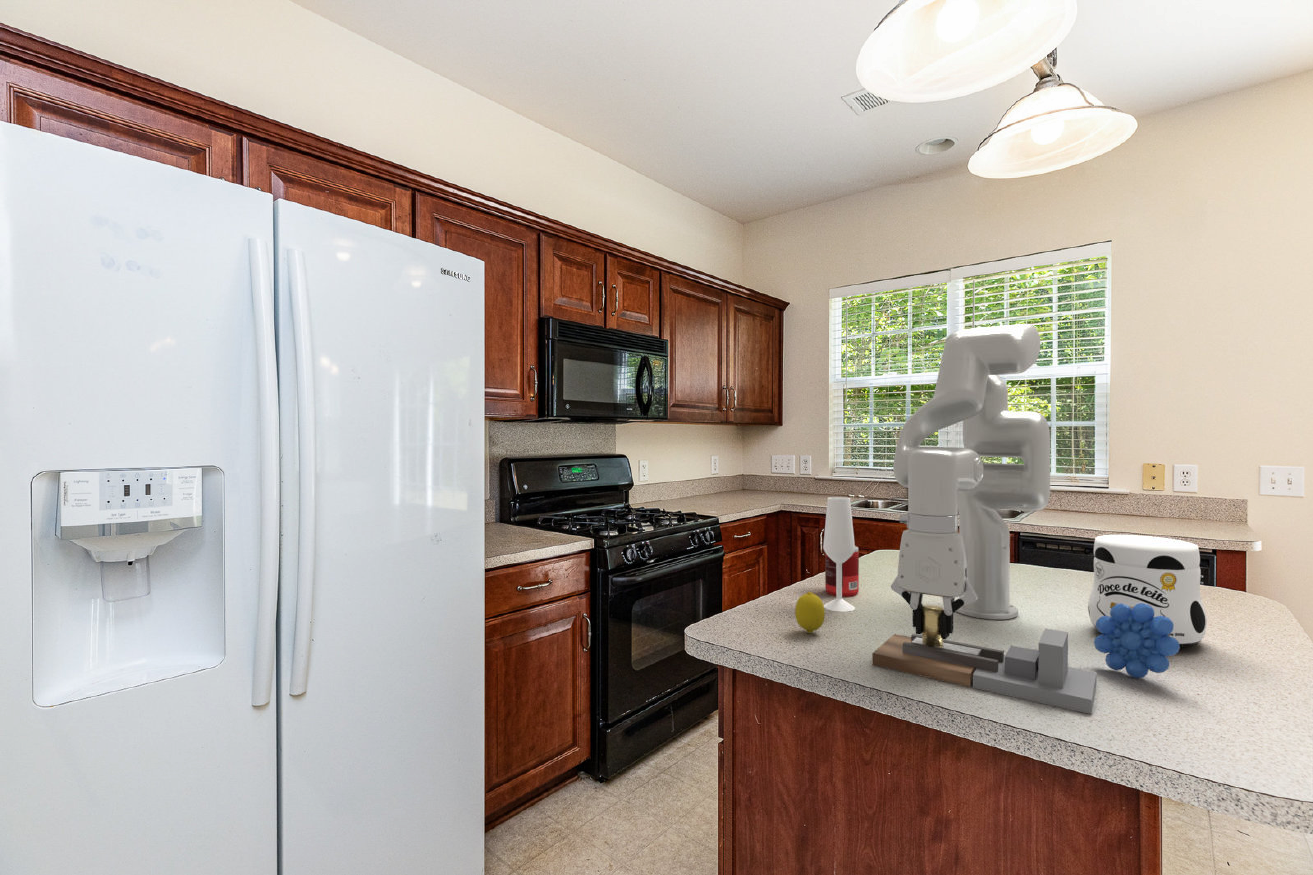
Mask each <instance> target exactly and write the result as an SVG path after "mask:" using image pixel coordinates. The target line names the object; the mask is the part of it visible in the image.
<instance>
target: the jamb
mask: <svg viewBox="0 0 1313 875" xmlns="http://www.w3.org/2000/svg"><path fill="white" fill-rule="evenodd" d="M1068 656H1069V632H1068V631H1062V630H1056V629H1051V628H1050V629H1049V628H1044V629H1043V632H1042V634H1041V636H1040V639H1039V641H1038V649H1034V648H1029V647H1028V648H1027V647H1023V646H1018V645H1017V646H1016V645H1010V647H1009V648H1008V650H1007V652H1006V654H1004V662H1003V663H1002V662H998V672H992V671H987V670H982V669H978V668H977V669H976V671H975V672H974V674H973V683H972V688H974V689H978V690H981V691H982V690H983V691H985V692H986V691H987V692H990V693H994V694H995V693H996V694H1000V695H1005V696H1009V697H1014V698H1018V699H1022V700H1027V701H1031V702H1036V703H1039V704H1043V705H1044V704H1045V705H1049V706H1053V707H1057V708H1062V709H1067V710H1071V711H1076V712H1080V713H1085V714H1088V715H1089V714H1090V715H1093V711H1094V710H1093V708H1094V702H1095V695H1096V691H1097V672H1096V671H1093V670H1092V671H1091V670H1087V669H1081V668H1076V667H1071V666H1068V665H1069V663H1068V662H1069V657H1068Z"/></svg>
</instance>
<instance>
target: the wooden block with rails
mask: <svg viewBox="0 0 1313 875" xmlns="http://www.w3.org/2000/svg"><path fill="white" fill-rule="evenodd" d="M916 637H918V638H922V635H921V634H916V633H912V634H911V635H910V636H907V635H902V634H897V633H894V634H893V635H892V636H890V637H889V638H888V639H886V640H885V641H884V643H882V644H881V645H880V646H879V647H878V648H876V650H873V652H872V653H871V654H872V658H871V659H872V660H871V661H872V666H874V667H875V666H876V667H880V668H884V669H888V670H893V671H897V672H902V673H905V674H906V673H907V674H911V675H915V676H920V677H925V678H928V679H934V680H937V681H942V682H946V683H949V684H950V683H951V684H955V685H959V686H964V687H968V688H970V687H971V686H973V674H974V672H975V671H976V669H977V668H978V669H982V670H987V671H992V672H998V662H1002V663H1003V662H1004V655H1005V651H1004V650H1001V649H996V648H991V647H985V646H980V645H979V646H978V645H975V644H970V643H969V644H968V643H964V642H959V641H955V640H954V641H952V640H949V639H943V642H944V643H949V644H955V645H960V646H965V647H970V648H976V649H981V657H980V656H975V655H969V654H964V653H959V652H954V651H949V650H944V649H939V648H934V647H929V646H924V645H918V644H913V643H911V642H912V641H913V640H914V639H915V638H916Z"/></svg>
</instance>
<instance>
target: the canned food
mask: <svg viewBox="0 0 1313 875" xmlns="http://www.w3.org/2000/svg"><path fill="white" fill-rule="evenodd" d="M859 553H860V552H859V547H858V546H856V545H855V551H854V553H853V554H852V556H851V557H850V558H849V559H848V560H846V561H845V562H844V563H842V598H850V597H855V596H857V595H858V594H859V590H860V587H859V586H860V585H859V581H860V580H859V579H860V574H859V572H860V571H859V566H860V565H859V559H860V557H859V556H860V554H859ZM824 563H825V564H824V570H825V571H824V576H825V578H824V580H825V582H824V583H825V585H824V586H825V587H824V588H825V592H826V593H827V594H828V595H831V596H833V597H836V563H835V562H834V561H832V560H831V558H830V557H829V556H828V555H827V554H826V553H825V552H824Z"/></svg>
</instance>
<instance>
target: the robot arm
mask: <svg viewBox="0 0 1313 875" xmlns="http://www.w3.org/2000/svg"><path fill="white" fill-rule="evenodd" d="M1040 351H1041V337H1040V334H1039V332H1038V330H1037V328H1036V327H1035V326H1034V325H1032V324H1030V323H1021V324H1020V323H1019V324H1011V325H1009V324H1007V325H999V326H987V327H976V328H974V327H972V328H968V329H967V328H966V329H962V330H961V329H960V330H958V331H954V332H952V333H950V334H949V335H948V336H947V337H946V338H945V340H944V347H943V350H942V354H941V359H940V365H939V369H938V374H937V377H936V378H937V380H936V385H935V389H934V393H933V397H932V398H931V399H930V400H928V401H926V402H925V403H924V404H923V405H922V406H920V407H919V408H918V409H917V410H916V411H915V412H914V413H913V414H912V415H911V416H910V417H909V418H908V419H907V420H906V421H905V423H904V424H903V426H902V428H901V430H900V432H899V434H898V435H899V436H898V439H897V444H896V449H895V451H894V458H893V468H892V469H893V470H892V471H893V475H894V479H895V480H896V482H897V483H898V484H899V485H900V486H901V487H904V488H907V490H908V492H907V494H908V496H907V497H908V499H907V500H908V501H907V502H908V503H907V504H908V505H907V506H908V507H907V508H908V509H907V512H906V514H900V516H899V523H900V524H901V523H902V524H905V525H906V528H907V529H905V530H903V531H902V534H901V540H900V545H899V552H898V553H899V554H898V565H897V576H896V577H895V579H894V580H893V582H892V583H891V585H890V589H891V590H892V591H894V592H895V593H897V595H899V596H901V597H902V598H903V599H904V601H906V603H907V604H908V605H909V607H910V609H911V610H912V627H913V628H915V634H917V635H921V634H922V606H924V605H923V597H924V595H927V596H933V597H941V599H942V604H943V614H942V615H941V638H942V639H943V640H948V638H949V637H950V635H951V634H953V633H954V613H955V612H957V613H959V614H962V615H964V616H969V617H973V618H978V619H986V620H1009V619H1010V620H1011V619H1014V618H1017V617H1018V616H1019V609H1018V608H1017V607H1016V606H1014V605H1012V604H1011V603H1010V601H1011V600H1010V598H1011V597H1010V589H1011V588H1010V586H1011V585H1010V583H1011V582H1010V577H1011V575H1010V566H1011V565H1010V562H1011V560H1010V558H1011V557H1010V552H1011V551H1010V548H1011V547H1010V546H1011V545H1010V540H1011V538H1010V537H1011V536H1010V529H1009V527H1008V524H1007V522H1005V520H1004V519H1003V518H1002V516H1001V515H1000V514H999V513H998V512H997V510H1007V511H1022V512H1023V511H1025V512H1038V511H1041V510H1042V511H1043V510H1044V509H1045V508H1046V507H1047V506H1048V504H1049V502H1050V497H1051V496H1050V495H1051V435H1050V434H1051V433H1050V427H1049V423H1048V421H1047V418H1046V417H1045V415H1043V414H1042V413H1040V412H1038V411H1037V412H1036V411H1031V410H1030V411H1028V410H1027V411H1025V410H1023V411H1019V410H1018V411H1014V410H1013V411H1009V405H1008V404H1009V403H1008V402H1009V401H1008V400H1009V399H1008V395H1009V394H1008V393H1009V392H1008V391H1009V390H1008V386H1007V384H1006V383H1005V381H1004V380H1003V379H1002V378H1001V377H1000V376H1001V375H1002V376H1003V375H1018V374H1023V373H1025V372H1026V371H1027V370H1029V369H1030V368H1031V367H1032V366H1034V364H1035V363H1036V361H1037V359H1038V358H1039V354H1040ZM961 422H962V443H963V447H959V446H958V447H957V446H956V447H955V446H954V447H949V446H920V445H921V444H922V443H923V442H924V441H925V439H926V438H928V437H929V436H931V435H932V434H934V433H937V431H940V430H942V429H945V428H948V427H950V426H953V425H956V424H959V423H961ZM981 457H987V458H989V457H991V458H1019V459H1021V460H1022V461H1023V464H1020V463H998V462H997V463H996V462H995V463H993V462H983V460H982V458H981ZM955 598H956V599H955Z"/></svg>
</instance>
